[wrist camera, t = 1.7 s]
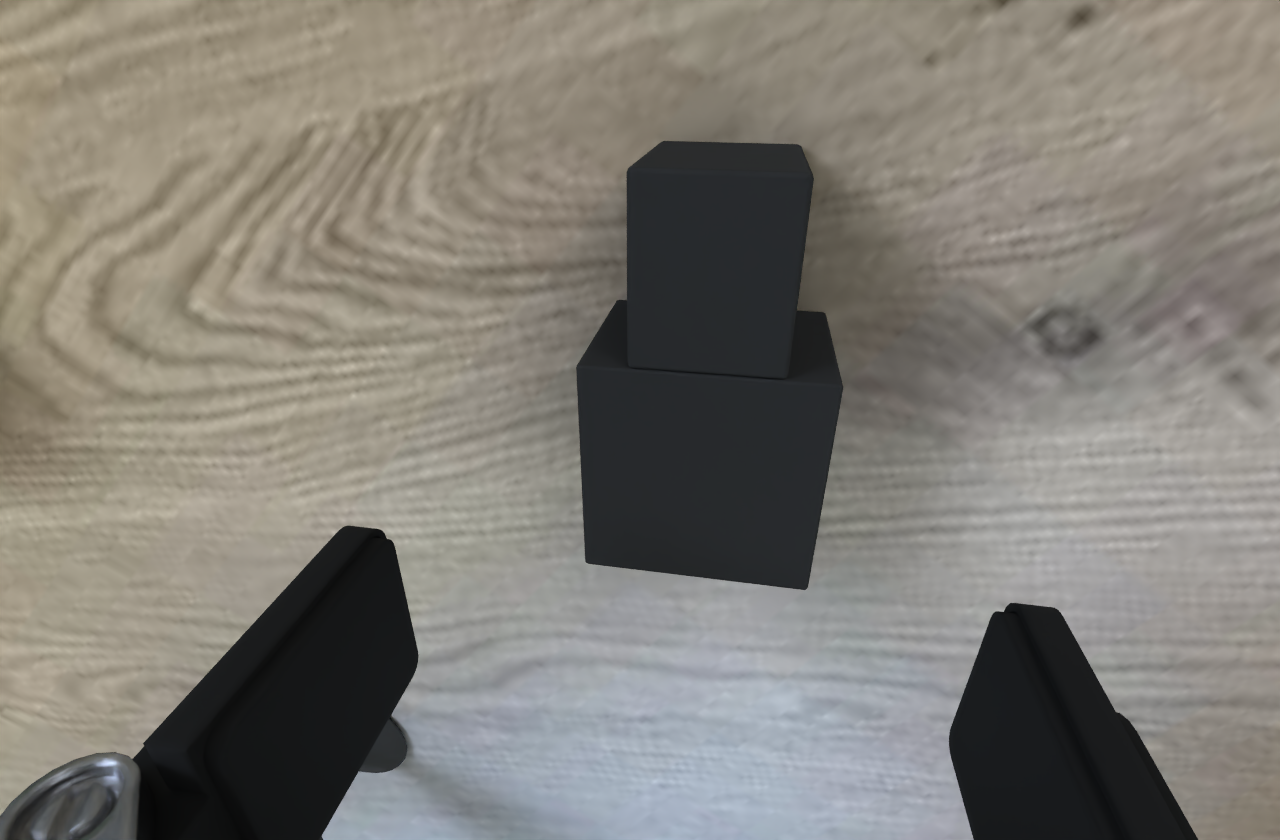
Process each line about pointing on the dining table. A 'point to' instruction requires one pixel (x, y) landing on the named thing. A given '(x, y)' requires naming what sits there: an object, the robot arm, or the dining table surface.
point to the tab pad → (710, 375)
